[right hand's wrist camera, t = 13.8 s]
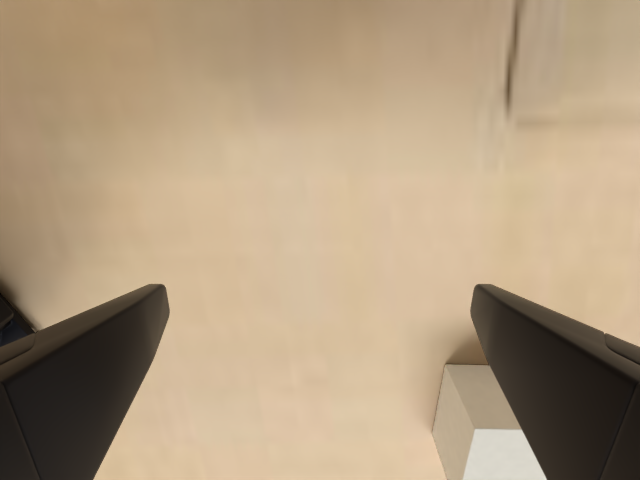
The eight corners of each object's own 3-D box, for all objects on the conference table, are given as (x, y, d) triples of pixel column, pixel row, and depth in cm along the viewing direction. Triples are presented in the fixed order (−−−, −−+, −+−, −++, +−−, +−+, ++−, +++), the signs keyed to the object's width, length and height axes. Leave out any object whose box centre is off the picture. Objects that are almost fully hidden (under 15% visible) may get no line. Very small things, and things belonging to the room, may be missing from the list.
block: (516, 435, 22) (558, 508, 18) (431, 434, 22) (455, 507, 18) (537, 365, 21) (589, 430, 17) (444, 363, 20) (474, 428, 17)
